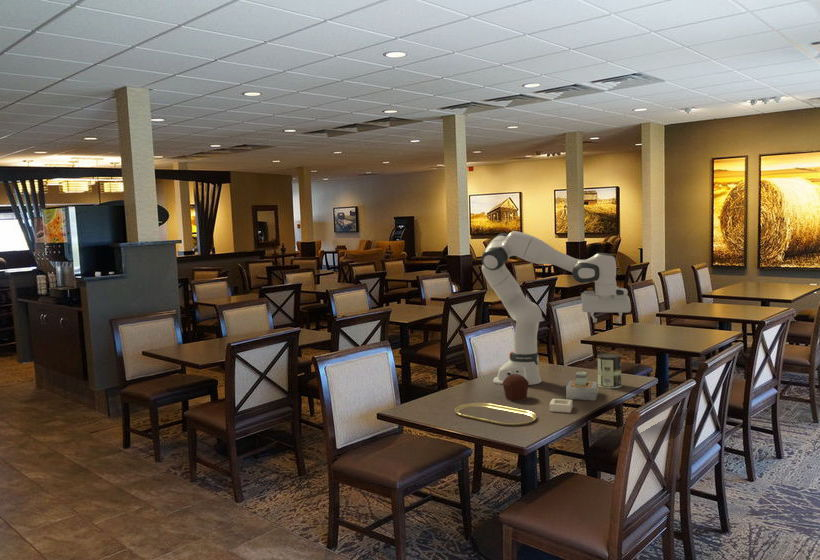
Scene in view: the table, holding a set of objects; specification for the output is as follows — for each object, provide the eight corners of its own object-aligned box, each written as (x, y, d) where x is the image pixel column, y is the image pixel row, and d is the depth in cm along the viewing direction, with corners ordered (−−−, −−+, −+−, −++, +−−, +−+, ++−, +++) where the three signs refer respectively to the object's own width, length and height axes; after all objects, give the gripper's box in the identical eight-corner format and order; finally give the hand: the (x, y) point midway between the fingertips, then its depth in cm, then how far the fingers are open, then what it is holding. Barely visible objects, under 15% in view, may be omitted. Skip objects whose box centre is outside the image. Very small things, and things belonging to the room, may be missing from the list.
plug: (575, 394, 276) (575, 373, 275) (577, 391, 280) (576, 371, 279) (586, 394, 274) (585, 374, 273) (587, 392, 278) (586, 371, 277)
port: (566, 398, 273) (566, 386, 273) (569, 391, 284) (569, 379, 284) (595, 400, 269) (595, 387, 268) (597, 393, 280) (597, 381, 280)
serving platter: (519, 430, 235) (519, 426, 235) (445, 414, 258) (445, 410, 258) (545, 418, 249) (545, 414, 249) (472, 404, 272) (472, 400, 272)
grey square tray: (549, 411, 256) (549, 403, 256) (552, 405, 263) (552, 398, 263) (570, 412, 253) (570, 405, 253) (572, 407, 261) (572, 399, 260)
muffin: (528, 401, 271) (528, 378, 270) (502, 401, 273) (501, 378, 272) (529, 394, 283) (528, 372, 282) (503, 394, 285) (503, 371, 284)
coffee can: (617, 382, 297) (617, 352, 296) (624, 388, 286) (624, 357, 285) (595, 383, 297) (594, 353, 296) (601, 389, 287) (600, 357, 285)
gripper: (580, 291, 276) (580, 323, 277) (630, 291, 268) (630, 324, 269) (581, 290, 282) (582, 321, 283) (630, 289, 274) (631, 321, 275)
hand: (606, 322), depth 276 cm, fingers open, 8 cm apart
